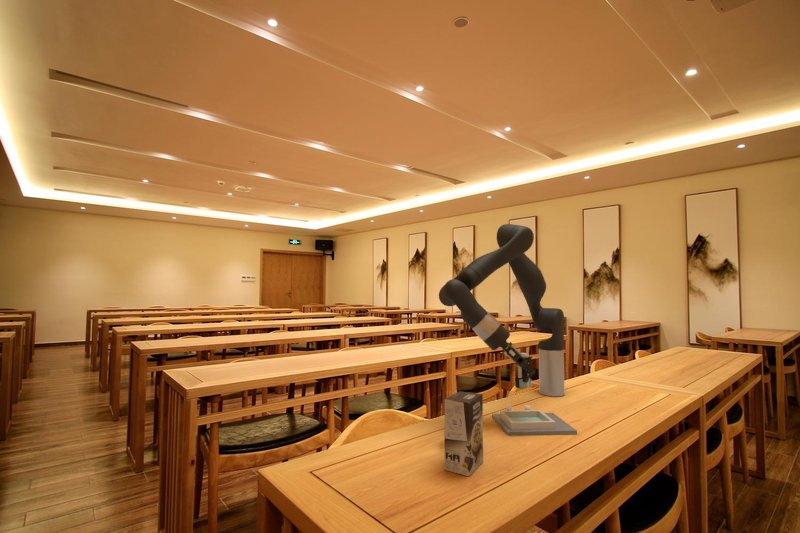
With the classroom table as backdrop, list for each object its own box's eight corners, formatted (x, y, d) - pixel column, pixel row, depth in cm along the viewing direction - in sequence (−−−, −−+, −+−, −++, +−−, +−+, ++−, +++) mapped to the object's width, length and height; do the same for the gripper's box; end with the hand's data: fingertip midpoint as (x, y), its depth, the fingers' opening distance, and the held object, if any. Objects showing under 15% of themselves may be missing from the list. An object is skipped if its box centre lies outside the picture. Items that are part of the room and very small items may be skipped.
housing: (491, 416, 127) (491, 404, 127) (552, 415, 128) (552, 403, 128) (507, 435, 111) (507, 421, 111) (577, 434, 112) (576, 419, 112)
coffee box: (470, 477, 87) (469, 402, 88) (443, 470, 90) (443, 398, 91) (484, 461, 95) (483, 393, 96) (459, 455, 98) (459, 389, 99)
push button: (525, 384, 123) (524, 351, 124) (540, 387, 119) (538, 353, 120) (510, 386, 120) (509, 353, 121) (524, 390, 115) (523, 355, 116)
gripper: (502, 324, 114) (546, 368, 112) (496, 320, 128) (535, 359, 126) (483, 343, 114) (527, 386, 112) (480, 336, 129) (518, 375, 127)
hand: (531, 371), depth 119 cm, fingers closed on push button, 5 cm apart
